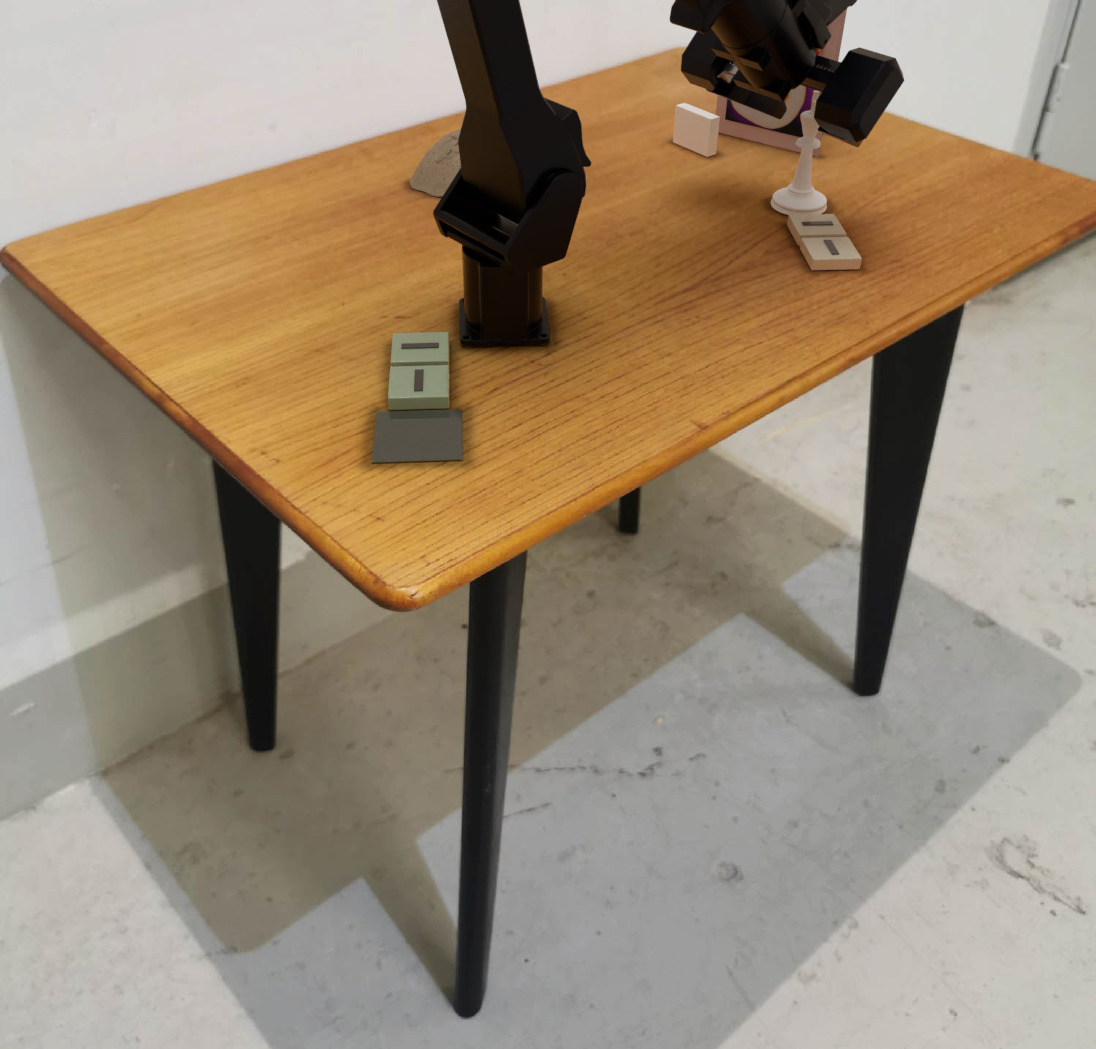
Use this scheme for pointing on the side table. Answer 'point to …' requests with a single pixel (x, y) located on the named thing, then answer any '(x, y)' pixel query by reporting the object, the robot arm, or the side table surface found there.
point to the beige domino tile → (823, 242)
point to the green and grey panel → (418, 403)
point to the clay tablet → (438, 166)
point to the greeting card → (789, 128)
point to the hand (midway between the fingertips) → (820, 127)
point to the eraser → (696, 129)
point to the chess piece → (803, 173)
